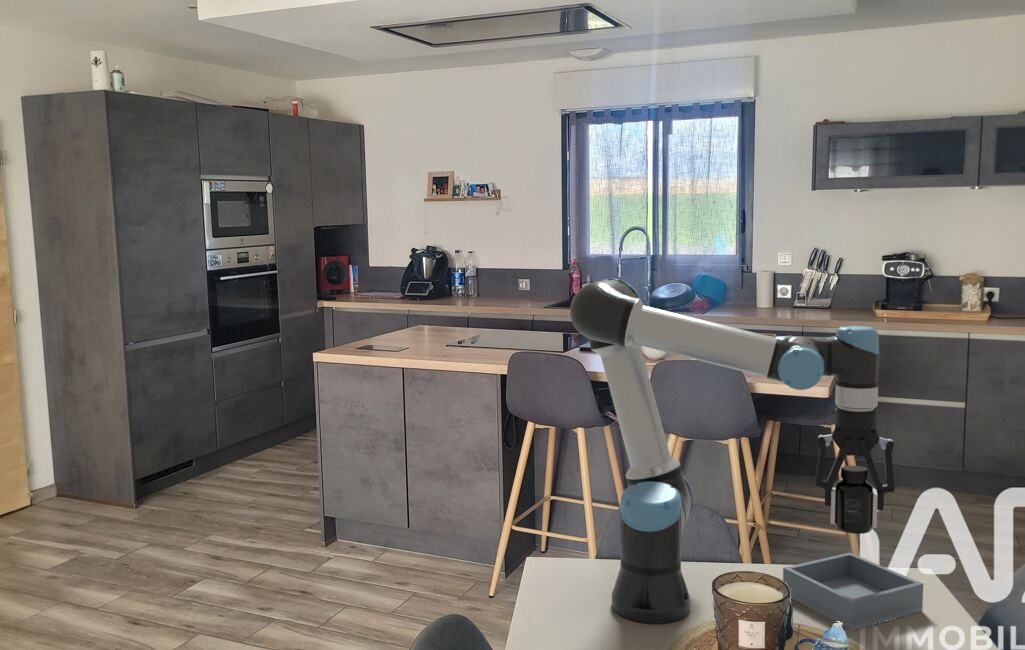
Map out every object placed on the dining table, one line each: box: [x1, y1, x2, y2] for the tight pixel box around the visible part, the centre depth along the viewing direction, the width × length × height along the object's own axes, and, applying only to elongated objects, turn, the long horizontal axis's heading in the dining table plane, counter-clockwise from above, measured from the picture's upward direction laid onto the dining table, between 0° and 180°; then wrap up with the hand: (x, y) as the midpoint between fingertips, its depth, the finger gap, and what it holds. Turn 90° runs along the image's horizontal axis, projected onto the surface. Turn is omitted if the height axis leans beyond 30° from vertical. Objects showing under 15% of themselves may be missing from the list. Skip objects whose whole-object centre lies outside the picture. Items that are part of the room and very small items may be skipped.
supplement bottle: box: [834, 465, 874, 535], centre depth 165 cm, size 7×7×12 cm
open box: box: [782, 552, 924, 632], centre depth 167 cm, size 18×18×6 cm
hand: (853, 523), depth 166 cm, fingers closed on supplement bottle, 7 cm apart
